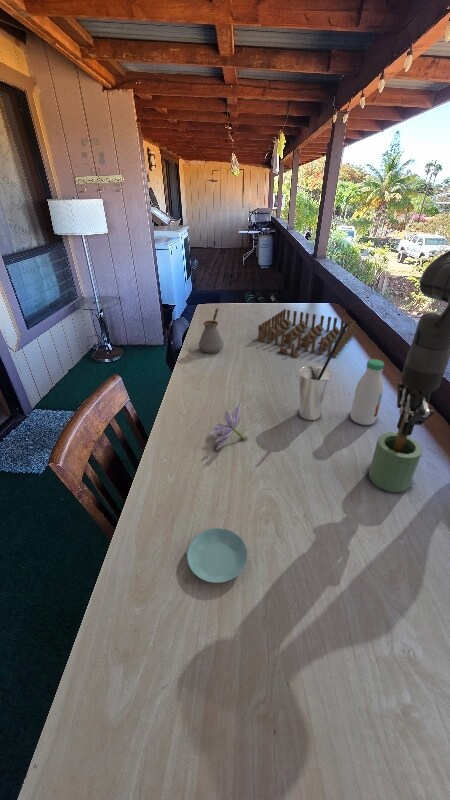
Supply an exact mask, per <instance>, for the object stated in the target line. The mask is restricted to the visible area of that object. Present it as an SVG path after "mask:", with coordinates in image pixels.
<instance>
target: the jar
mask: <svg viewBox="0 0 450 800" xmlns="http://www.w3.org/2000/svg"><path fill="white" fill-rule="evenodd" d="M397 433H398V432H391V431H390V432H388V431H387V432H385V433H382V434H380V435H379V436H378V438H377V442H376V444H375V445H376V446H375V449H374V452H373V456H372V460H371V463H370V466H369V470H368V477H369V479H370V481H371V482H372V483H373V484H374V485H375V486H377V487H378V488H379V489H381V490H384V491H387V492H390V493H402V492H405V491H406V490H408V489H409V488H410V485H411V483H412V480H413V477H414V476H415V472H416V470H417V468H418V465H419V462H420V459H421V456H422V454H423V447H422V445H421V444H420V442H418V441H417V440H416V439H415V438H414V437H412V436H410V435H409V436H408V435H407V438H406V441H405V444H404V447H403V450H402V453H403V454H401V453H398V452H395V451H393V450H391V449H393V446H394V443H395V440H396V436H397Z"/></svg>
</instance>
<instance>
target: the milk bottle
mask: <svg viewBox="0 0 450 800" xmlns="http://www.w3.org/2000/svg"><path fill="white" fill-rule="evenodd" d="M365 368H366V370H365V372H364V374H363V375H362V376H361V377H360V378H359V380H358V382H357V384H356V388H355V392H354V396H353V401H352V404H351V410H350V419H351V420H352V421H353V422H355V423H356V424H359V425H364V426H369V425H373V424H374V423H375V422H376V420H377V417H378V413H379V409H380V407H381V406H380V405H381V402H382V397H383V394H384V381H383V376H382V373H383V371H384V368H385V362H384V361H382V360H380V359H376V358H371V359H368V361H367V363H366V367H365Z"/></svg>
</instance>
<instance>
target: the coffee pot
mask: <svg viewBox="0 0 450 800" xmlns="http://www.w3.org/2000/svg"><path fill="white" fill-rule="evenodd" d="M214 310H215V311H214V315H213V318H212V320H206V321H204V322H203V323H202V324H203V326H204V329H203V331H202V334H201V337H200V338H199V341H198V348H199V349H200V350H201V351H202V352H204V353H206V354H215V353H216V354H217V353H218V352H220V351H221V350H222V348H223V347H224V345H225V344H224V341H223V339H222V337H221V334H220V332H219V330H218V325H219V322H218V321H216V319H217V316H218V313H219V312H220V311H221V309H220V308H218V307H217V308H215V309H214Z"/></svg>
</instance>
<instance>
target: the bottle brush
mask: <svg viewBox="0 0 450 800" xmlns="http://www.w3.org/2000/svg"><path fill="white" fill-rule="evenodd" d="M413 415H414V414H411V416H410V417H412V416H413ZM405 416H406V412H404V414H403V418H402V421H401V424H400V427H399V429H398V430H397V432H396V433H397V436H396V440H395V443H394V446H393V449H391V450H393V451H395V452H398V453H401V454H403V453H402V450H403V447H404V444H405V441H406V438H407V436H408V435H402V434H401V433H400V432H401V428H402V425H403V422H404V420H405Z"/></svg>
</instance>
